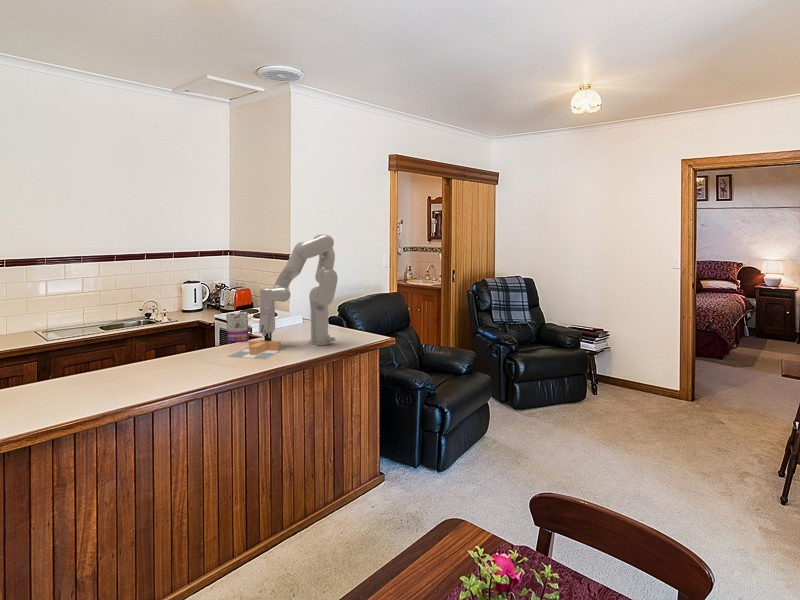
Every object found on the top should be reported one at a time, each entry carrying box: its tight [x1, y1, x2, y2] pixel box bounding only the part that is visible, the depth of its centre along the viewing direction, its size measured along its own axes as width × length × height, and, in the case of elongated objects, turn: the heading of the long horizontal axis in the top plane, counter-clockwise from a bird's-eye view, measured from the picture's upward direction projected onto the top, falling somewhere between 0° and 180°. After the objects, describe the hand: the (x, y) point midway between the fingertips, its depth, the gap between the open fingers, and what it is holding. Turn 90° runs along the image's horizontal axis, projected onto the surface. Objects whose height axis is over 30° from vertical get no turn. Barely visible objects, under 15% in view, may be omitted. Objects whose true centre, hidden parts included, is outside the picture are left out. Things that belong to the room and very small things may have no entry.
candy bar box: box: [225, 311, 249, 344], centre depth 288 cm, size 11×5×16 cm, turn 105°
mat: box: [227, 344, 291, 360], centre depth 266 cm, size 20×30×1 cm, turn 169°
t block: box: [248, 339, 282, 355], centre depth 265 cm, size 16×15×4 cm
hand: (268, 345), depth 275 cm, fingers closed
